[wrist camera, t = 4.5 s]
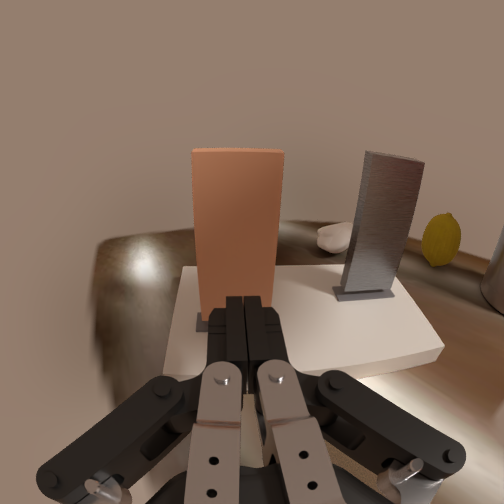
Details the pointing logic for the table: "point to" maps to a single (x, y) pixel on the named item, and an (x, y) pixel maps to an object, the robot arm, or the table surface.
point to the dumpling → (335, 237)
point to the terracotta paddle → (236, 222)
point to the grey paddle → (381, 220)
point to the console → (317, 326)
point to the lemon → (441, 239)
